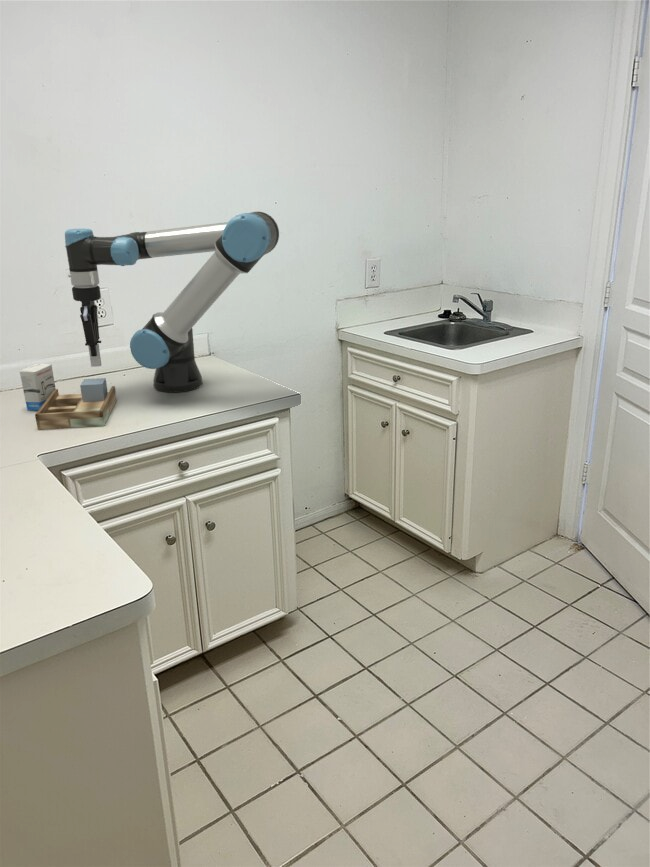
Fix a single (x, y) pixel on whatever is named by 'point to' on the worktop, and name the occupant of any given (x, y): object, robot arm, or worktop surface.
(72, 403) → the wooden tray
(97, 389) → the block
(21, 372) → the ink box
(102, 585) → the worktop surface
